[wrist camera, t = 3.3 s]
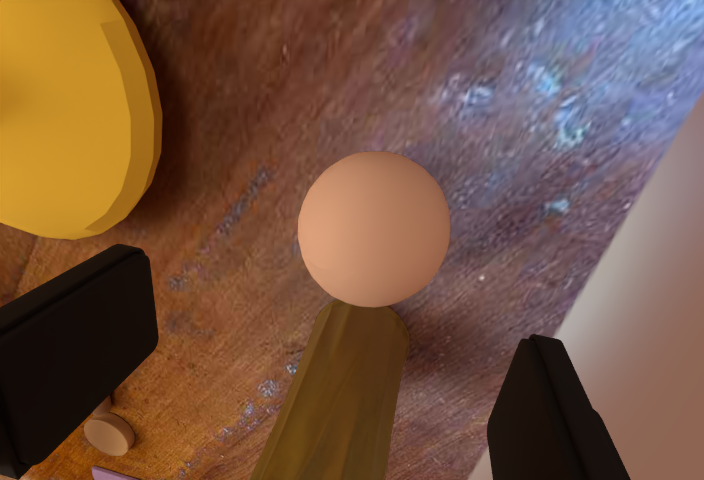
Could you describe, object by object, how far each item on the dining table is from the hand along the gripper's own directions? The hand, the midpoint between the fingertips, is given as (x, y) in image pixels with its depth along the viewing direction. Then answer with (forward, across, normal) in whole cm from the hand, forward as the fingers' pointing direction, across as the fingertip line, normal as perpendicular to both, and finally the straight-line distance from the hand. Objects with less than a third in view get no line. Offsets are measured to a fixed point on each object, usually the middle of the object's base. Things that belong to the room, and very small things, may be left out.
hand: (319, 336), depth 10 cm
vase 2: (+12, +19, -3) cm, 23 cm away
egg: (+12, 0, 0) cm, 12 cm away
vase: (+12, 0, +9) cm, 15 cm away
